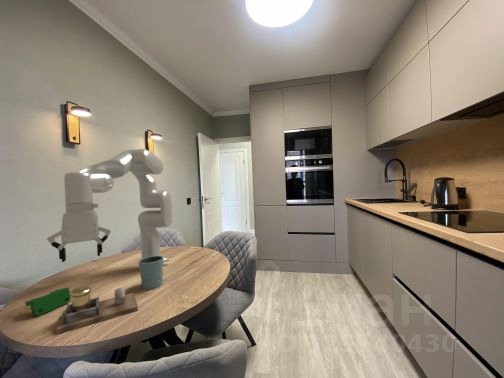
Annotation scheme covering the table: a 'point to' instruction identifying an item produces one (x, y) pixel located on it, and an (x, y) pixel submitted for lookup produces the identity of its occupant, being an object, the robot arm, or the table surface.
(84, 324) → the fitting board
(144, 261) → the grey-green cup
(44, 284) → the table surface
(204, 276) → the table surface
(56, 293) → the clamp
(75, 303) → the brass door knob
